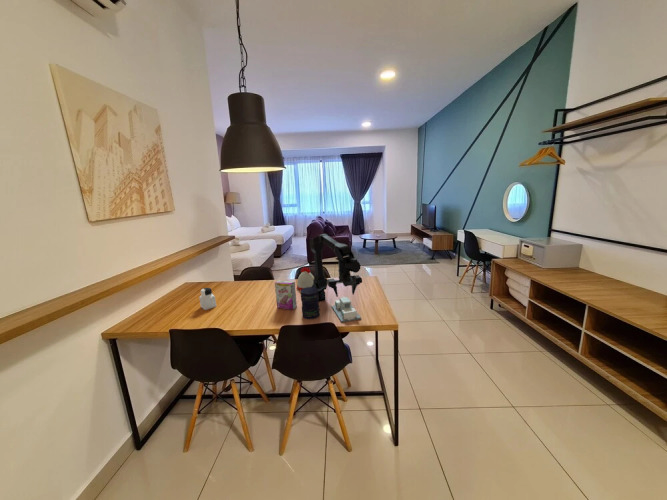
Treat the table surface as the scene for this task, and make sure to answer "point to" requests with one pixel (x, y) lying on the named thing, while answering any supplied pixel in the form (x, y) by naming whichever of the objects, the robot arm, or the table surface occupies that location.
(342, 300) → the block
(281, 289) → the candy bar box
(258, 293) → the table surface
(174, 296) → the table surface
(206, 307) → the medicine bottle
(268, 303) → the table surface
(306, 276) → the kitchen timer
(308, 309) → the storage jar
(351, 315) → the board
